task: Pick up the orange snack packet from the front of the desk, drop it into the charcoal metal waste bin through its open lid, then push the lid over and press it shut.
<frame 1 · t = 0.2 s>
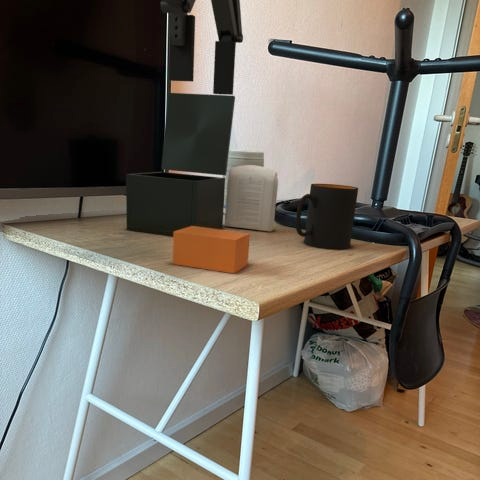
hand: (204, 88, 62), 23 cm above the table, tool pointing down, fingers open, 13 cm apart
packet: (210, 264, 69), on the table
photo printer: (248, 229, 100), on the table
bin lid: (197, 134, 94), point 17 cm above the table, hinge at 100.0°
bin: (176, 229, 93), on the table
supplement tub: (240, 215, 118), on the table
mug: (319, 246, 88), on the table
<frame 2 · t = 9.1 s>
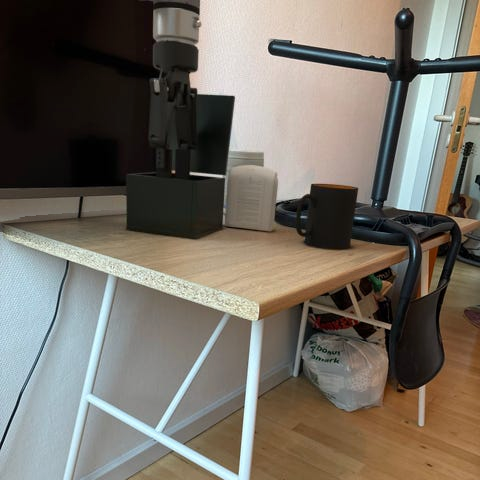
hand: (173, 186, 88), 8 cm above the table, tool pointing down, fingers open, 7 cm apart
packet: (172, 212, 90), point 3 cm above the table
everything else where it was.
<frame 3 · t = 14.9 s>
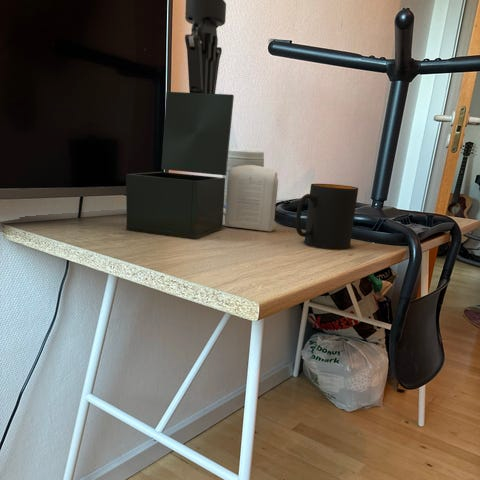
hand: (200, 134, 98), 17 cm above the table, tool pointing down, fingers closed
packet: (171, 226, 91), point 1 cm above the table, touching bin
bin lid: (196, 133, 94), point 17 cm above the table, hinge at 96.7°, touching gripper
everything else where it was.
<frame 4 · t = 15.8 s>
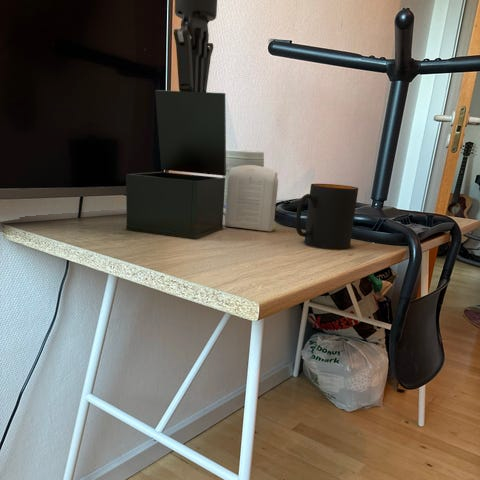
hand: (191, 134, 94), 17 cm above the table, tool pointing down, fingers closed
bin lid: (191, 133, 92), point 17 cm above the table, hinge at 78.6°, touching gripper
everything else where it was.
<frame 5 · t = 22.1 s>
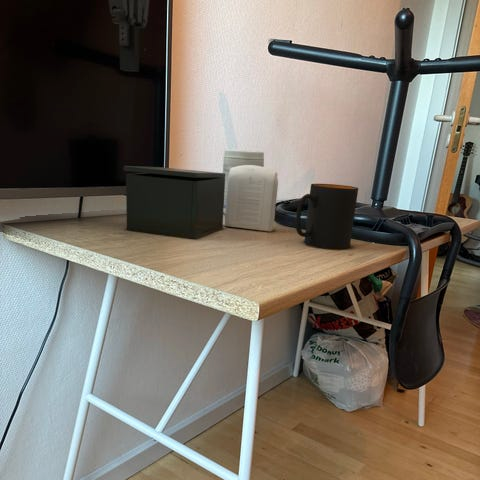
hand: (129, 70, 81), 26 cm above the table, tool pointing down, fingers closed
bin lid: (177, 172, 89), point 11 cm above the table, hinge at 2.1°
everything else where it was.
at the end: packet inside the target area in the bin (2.1 cm from its centre), point 0.8 cm above the bin's base; bin lid at +2° (first picture: +100°) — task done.
